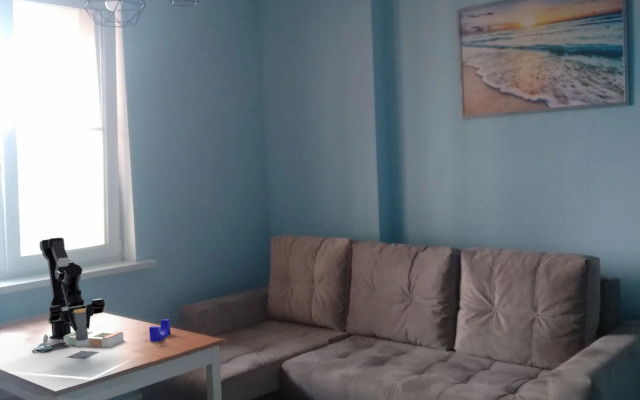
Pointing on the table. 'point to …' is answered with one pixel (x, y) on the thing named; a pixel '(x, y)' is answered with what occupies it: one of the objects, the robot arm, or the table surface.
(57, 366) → the table surface
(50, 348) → the pacifier
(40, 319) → the table surface
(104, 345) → the socket panel
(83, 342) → the plug
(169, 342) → the table surface
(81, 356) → the mat
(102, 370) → the table surface
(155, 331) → the cable clip
